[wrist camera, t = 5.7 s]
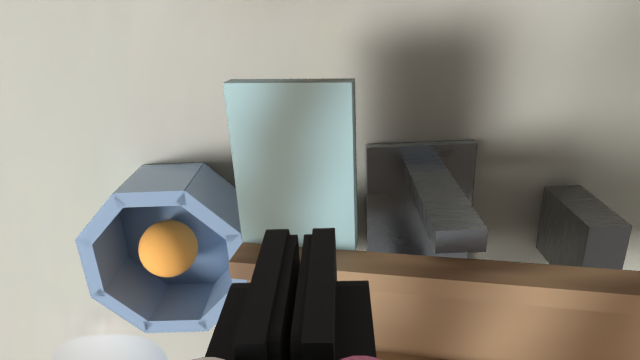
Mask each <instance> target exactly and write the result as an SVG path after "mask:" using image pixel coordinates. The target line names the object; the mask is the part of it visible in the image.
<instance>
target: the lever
mask: <svg viewBox="0 0 640 360" xmlns="http://www.w3.org/2000/svg"><path fill="white" fill-rule="evenodd" d="M223 88H224V96H225V105H226V113H227V121H228V129H229V137H230V145H231V153H232V161H233V170H234V178H235V186H236V194H237V202H238V210H239V218H240V227H241V235H242V244H241V245H240V247H239V248H238V249H237V251H236V252H235V253H234V255H233V256H232V258H231V259H230V260H229V262H228V263H229V270H230V277H231V279H242V280H247V283H250V282H251V279H252V275H253V272H254V269H255V265H256V262H257V258H258V255H259V251H260V248H261V245H262V241H263V238H264V234H265V231H266V229H289V231H290V235H298V242H299V256H300V261H301V253H302V246H303V238H304V234H312V230H313V228H335V237H336V264H337V281H363V280H368V281H369V289H370V299H371V308H372V318H373V328H374V337H375V347H376V357H377V358H378V359H380V360H640V271H631V270H617V269H604V268H590V267H576V266H562V265H548V264H534V263H520V262H506V261H492V260H478V259H465V258H451V257H437V256H423V255H409V254H395V253H381V252H367V251H355V249H356V246H357V242H358V226H357V169H356V112H355V79H231V80H228V81H226V82H224V83H223Z"/></svg>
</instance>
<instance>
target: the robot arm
mask: <svg viewBox="0 0 640 360" xmlns="http://www.w3.org/2000/svg"><path fill="white" fill-rule="evenodd" d="M193 360H380V359H378V358H377V357H376V347H375V337H374V328H373V318H372V308H371V299H370V289H369V281H368V280H363V281H337V264H336V237H335V228H313V230H312V234H304V238H303V246H302V253H301V261H300V256H299V242H298V235H290V231H289V229H266V231H265V234H264V238H263V241H262V245H261V248H260V251H259V255H258V258H257V262H256V265H255V269H254V272H253V275H252V279H251V282H250V283H232V284H231V286H230V288H229V291H228V294H227V296H226V299H225V302H224V305H223V308H222V310H221V313H220V316H219V319H218V322H217V324H216V327H215V330H214V333H213V336H212V338H211V341H210V344H209V347H208V350H207V353H206V355H205V357H202V358H198V359H193Z"/></svg>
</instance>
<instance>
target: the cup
mask: <svg viewBox="0 0 640 360" xmlns="http://www.w3.org/2000/svg"><path fill="white" fill-rule="evenodd" d="M163 220H175V221H179V222H182V223H184V224H185V225H187V226H188V227H189V228H190V229H191V230H192V231H193V232H194V234H195V236H196V239H197V242H198V252H197V256H196V259H195V261H194V263H193V264H192V265H191V267H190V268H189V269H188V270H186V271H185V272H183V273H182V274H180V275H177V276H174V277H160V276H157V275H154V274H152V273H151V272H149V271H148V270H147V269H146V268H145V267H144V266H143V264H142V262H141V260H140V257H139V252H138V248H139V242H140V239H141V237H142V235H143V234H144V232H145V231H146V230H147V229H148V228H149V227H150V226H152V225H153V224H155V223H157V222H160V221H163ZM75 241H76V245H77V248H78V252H79V256H80V259H81V263H82V267H83V270H84V274H85V277H86V281H87V285H88V288H89V292H90V296H91V298H93V299H94V300H96V301H97V302H99V303H100V304H102V305H103V306H105V307H107V308H108V309H110V310H111V311H113V312H114V313H116V314H117V315H119V316H120V317H122V318H123V319H125V320H126V321H128V322H129V323H131V324H132V325H134V326H135V327H137V328H138V329H140V330H141V331H143V332H144V333H145V332H146V333H164V332H197V331H209V330H210V329H211V328H212V327H213V326H214V325H215V324H216V323H217V322H218V319H219V316H220V313H221V310H222V308H223V305H224V302H225V299H226V296H227V294H228V291H229V288H230V286H231V284H232V283H247V280H242V279H231V277H230V270H229V263H228V262H229V260H230V259H231V258H232V256H233V255H234V253H235V252H236V251H237V249H238V248H239V247H240V245H241V244H242V235H241V227H240V218H239V210H238V202H237V194H236V188H235V187H234V186H233V185H231V184H230V183H229V182H228V181H226V180H225V179H224V178H223V177H221V176H220V175H219V174H218V173H216V172H215V171H214V170H213V169H211V168H210V167H209V166H208V165H206V164H205V163H180V164H155V165H142V166H141V167H140V168H139V169H138V170H137V171H136V172H135V173H133V174H132V175H131V176H130V177H129V178H128V179H127V180H126V181H125V182H124V183H123V184H122V185H121V186H120V187H119V188H118V189H117V190H116V191H115V192H114V193H113V194H112V195H111V196H110V198H109V199H108V200H107V201H106V203H105V204H104V205H103V206H102V207H101V209H100V210H99V211H98V212H97V214H96V215H95V216H94V217H93V218H92V220H91V221H90V222H89V223H88V225H87V226H86V227H85V228H84V229H83V231H82V232H81V233H80V234H79V236H78V237H77V238H76V240H75Z"/></svg>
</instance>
